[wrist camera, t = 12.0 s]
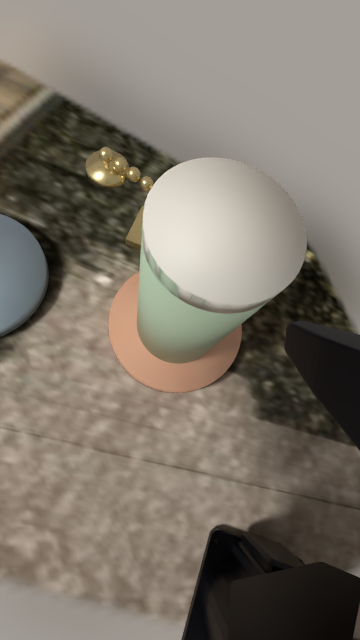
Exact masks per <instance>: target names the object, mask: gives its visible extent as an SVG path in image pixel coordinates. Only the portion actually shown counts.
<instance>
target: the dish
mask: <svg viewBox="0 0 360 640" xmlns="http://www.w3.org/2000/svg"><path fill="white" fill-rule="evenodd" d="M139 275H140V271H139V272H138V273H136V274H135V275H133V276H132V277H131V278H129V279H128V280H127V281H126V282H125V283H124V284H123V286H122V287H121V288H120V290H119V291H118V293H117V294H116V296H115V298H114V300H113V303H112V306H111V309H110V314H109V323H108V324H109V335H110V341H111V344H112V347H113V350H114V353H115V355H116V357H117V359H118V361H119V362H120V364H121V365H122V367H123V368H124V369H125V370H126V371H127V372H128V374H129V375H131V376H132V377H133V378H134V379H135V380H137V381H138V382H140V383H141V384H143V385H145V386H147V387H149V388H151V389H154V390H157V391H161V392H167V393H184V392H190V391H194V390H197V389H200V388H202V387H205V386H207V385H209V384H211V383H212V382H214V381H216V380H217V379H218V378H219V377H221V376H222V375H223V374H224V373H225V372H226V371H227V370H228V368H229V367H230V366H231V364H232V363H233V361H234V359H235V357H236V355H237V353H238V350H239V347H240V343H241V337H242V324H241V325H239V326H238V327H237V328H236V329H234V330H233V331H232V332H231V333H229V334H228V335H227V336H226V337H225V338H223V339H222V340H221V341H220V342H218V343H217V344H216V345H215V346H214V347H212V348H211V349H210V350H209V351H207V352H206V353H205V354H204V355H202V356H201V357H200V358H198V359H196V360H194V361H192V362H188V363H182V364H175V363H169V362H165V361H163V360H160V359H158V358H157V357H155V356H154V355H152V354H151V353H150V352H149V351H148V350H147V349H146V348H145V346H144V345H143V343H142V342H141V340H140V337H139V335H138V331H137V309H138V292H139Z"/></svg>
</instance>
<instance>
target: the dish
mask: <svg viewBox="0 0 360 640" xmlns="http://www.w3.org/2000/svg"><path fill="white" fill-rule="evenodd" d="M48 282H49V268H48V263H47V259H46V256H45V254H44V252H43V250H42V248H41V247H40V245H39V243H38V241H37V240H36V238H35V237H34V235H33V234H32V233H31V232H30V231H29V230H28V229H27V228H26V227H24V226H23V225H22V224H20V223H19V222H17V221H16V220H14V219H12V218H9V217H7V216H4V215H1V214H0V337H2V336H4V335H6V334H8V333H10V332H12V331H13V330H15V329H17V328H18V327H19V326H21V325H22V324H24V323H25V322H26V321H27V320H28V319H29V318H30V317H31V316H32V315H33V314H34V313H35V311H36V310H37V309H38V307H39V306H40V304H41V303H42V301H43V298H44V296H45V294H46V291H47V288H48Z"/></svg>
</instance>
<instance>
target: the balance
mask: <svg viewBox="0 0 360 640" xmlns="http://www.w3.org/2000/svg"><path fill="white" fill-rule="evenodd" d="M86 171H87V175H88V177H89V179H90V180H91V181H92V182H93V183H95V184H96V185H98V186H101V187H105V188H113V187H117V186H120V185H121V184H123V183H124V182H125V181H126V180H127V178H128V179H129V180H130V181H131V182H137V181H138V180H139V179H140V171H139V170H138V169H137V168H136V167H131V168H129V167H128V163H127V161H126V159H125V158H124V157H123V156H122V155H121V154H119V153H117V152H115V151H112V150H111V149H110V148H108V147H103V148H101V149H100V151H97V152H94V153H93V154H91V155H90V156H89V157H88V159H87V161H86ZM140 186H141V188H142V189H143V190H144V191H149V190H151V188H152V186H153V181H152V179H151V178H150V177H147V176H145V177H143V178H142V179H141V180H140ZM143 211H144V206H142V207H141V209H140V211H139V213H138V215H137V217H136V219H135V221H134V223H133V225H132V227H131V229H130V231H129V233H128V235H127V237H126V245H128V246H131V247H133V248H136V249H138V250H141V241H142V223H143Z"/></svg>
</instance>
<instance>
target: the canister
mask: <svg viewBox="0 0 360 640" xmlns="http://www.w3.org/2000/svg"><path fill="white" fill-rule="evenodd" d="M306 247H307V235H306V230H305V225H304V222H303V219H302V216H301V214H300V212H299V210H298V208H297V206H296V204H295V203H294V201H293V200H292V198H291V197H290V196H289V194H288V193H287V192H286V191H285V190H284V189H283V188H282V187H281V185H279V184H278V183H277V182H276V181H275V180H274V179H272V178H271V177H270V176H268V175H266V174H265V173H263V172H262V171H260V170H258V169H257V168H254V167H252V166H250V165H248V164H245V163H242V162H239V161H235V160H230V159H225V158H199V159H194V160H190V161H186V162H184V163H181V164H179V165H177V166H175V167H173V168H171V169H170V170H168V171H167V172H165V173H164V174H163V175H162V176H161V177H160V178H159V179H158V180H157V181H156V183H155V184H154V185H153V186H152V188H151V190H150V192H149V194H148V196H147V199H146V202H145V205H144V211H143V223H142V241H141V258H140V275H139V292H138V309H137V331H138V335H139V337H140V340H141V342H142V343H143V345H144V346H145V348H146V349H147V350H148V351H149V352H150V353H151V354H152V355H154V356H155V357H157V358H158V359H160V360H163V361H165V362H169V363H175V364H182V363H188V362H192V361H194V360H196V359H198V358H200V357H201V356H202V355H204V354H205V353H206V352H207V351H209V350H210V349H211V348H212V347H214V346H215V345H216V344H217V343H218V342H220V341H221V340H222V339H223V338H225V337H226V336H227V335H228V334H229V333H231V332H232V331H233V330H234V329H236V328H237V327H238V326H239V325H241V324H242V323H243V322H244V321H245V320H247V319H248V318H249V317H250V316H252V315H253V314H254V313H255V312H256V311H258V310H259V309H260V308H261V307H263V306H264V305H265V304H266V303H267V302H269V301H270V300H271V299H272V298H274V297H275V296H276V295H277V294H278V293H280V292H281V291H282V290H283V289H285V288H286V287H287V286H288V285H289V284H290V283H291V282H292V281H293V280H294V279H295V277H296V276H297V274H298V273H299V271H300V269H301V267H302V265H303V262H304V259H305V255H306Z"/></svg>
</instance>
